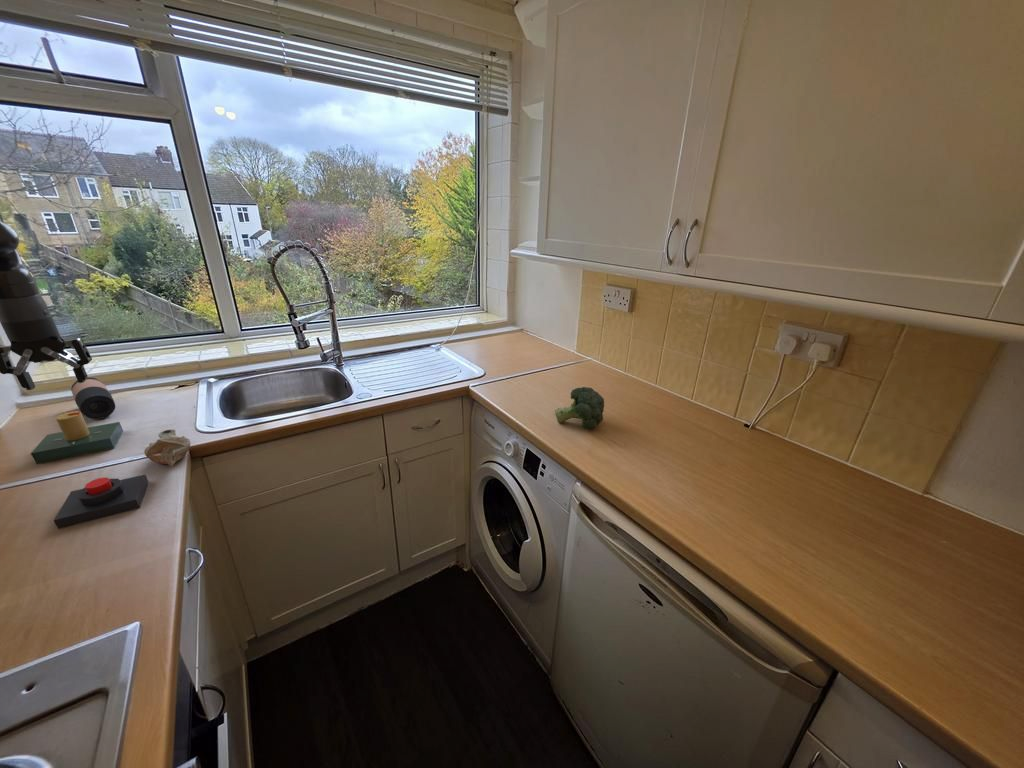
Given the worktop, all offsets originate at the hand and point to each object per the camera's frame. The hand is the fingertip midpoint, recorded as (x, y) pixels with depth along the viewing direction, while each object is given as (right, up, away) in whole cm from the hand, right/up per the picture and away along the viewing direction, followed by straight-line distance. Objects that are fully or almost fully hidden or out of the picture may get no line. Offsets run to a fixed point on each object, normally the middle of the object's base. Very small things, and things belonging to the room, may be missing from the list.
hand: (57, 385), depth 94 cm
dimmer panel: (-4, -16, +10) cm, 19 cm away
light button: (+22, -21, -11) cm, 32 cm away
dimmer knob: (-4, -13, +9) cm, 16 cm away
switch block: (+22, -25, -10) cm, 34 cm away
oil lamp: (+22, -18, +6) cm, 29 cm away
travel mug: (-12, -6, +21) cm, 26 cm away
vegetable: (+125, -12, +25) cm, 128 cm away
